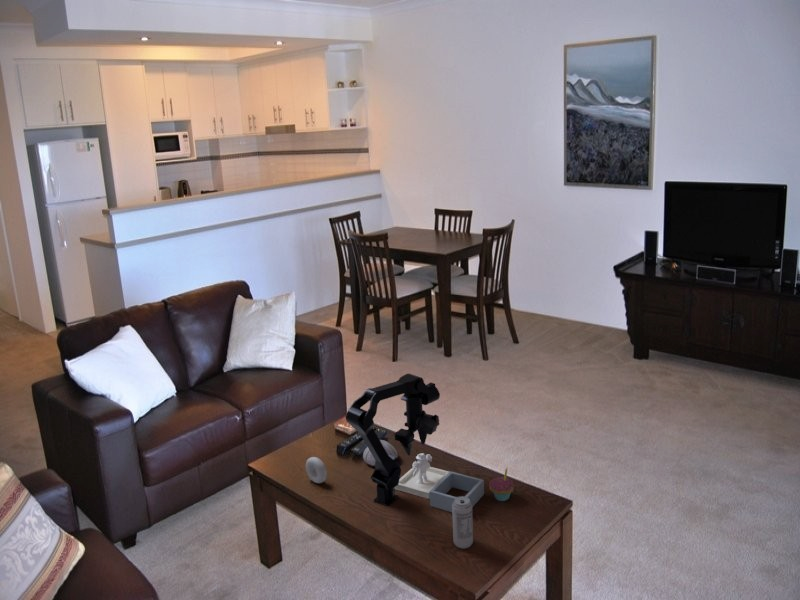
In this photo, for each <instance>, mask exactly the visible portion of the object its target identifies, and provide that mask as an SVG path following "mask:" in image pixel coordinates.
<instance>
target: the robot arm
mask: <svg viewBox="0 0 800 600" xmlns="http://www.w3.org/2000/svg"><path fill="white" fill-rule="evenodd" d="M400 395H402V396H401V398H400V400H401V401H404V402H405V412H404V413H403V415H404V416H406V422H405V423H404V427H406V428H407V429H406V428H405V429H404V428H400V429H398V430H397V431H396V432H394V434H393V438H394V441H397V442H399V443H400V444H401V446H402V448H403V449H404V451H405V453H406V454H407V456H412V443H413V442H414V441H415V440H416V439H415V433H416V432H417V433H418V436H419V441H420V443H421V445H425V444H426V440H427V436H428V435H429V436H431V435H432V434H433V433H434V432H436V431H437V429H438V427H439V425H440V418H439V415H437V414H434V415H433V414H429V413H427V412H426V410H423V406H427V405H429V404H431V403H434V402H436V401H439V399H440V398H441V397H440V396H441V393H440V391H439V389H438V387H436V383H434V382H429V383H427V384H426V383H425V380H424V379H423V377H421V376H419V375H414V374H412V373H406V374H404V375H402V376H400V377H399V378H398V380H397V381H393V382H390V383H386V384H382V385H379V386H375V387H372V388H371V387H370V388H367V389H365V391H364V392H363V393H362V395H361V396H360V397H358V398H357V399H355V400H354V401H353V403H352V404H351V406H350V407H349V408H348V410H347V412H346V415H345V420H346V422H347V423H348V425H350V427H352V428H353V429H354V430H355V431H356V432H358V433H359V434H360V436H361V438H362V439H363V441H364V443H365V445H366V448H367V447H368V448H369V450H370V452H371V454H372V455H373V457H374V459H375V466H374V467H375V468H374V471H373V473H372V474H371V476H370V480H371V482H372V483H375V484H376V497H375V498H374V499H373V502H374V501H375V503H379V504H381V505H385V506H391V505H392V504H394V502H395V501H396V500H397V499H399V497H400V496H399V495H398V494H396V489H395V486H397V485H398V484H399V479H400V478H401V472H402V467H401V466H402V464H401V463H400V462H399V459H398V457H395V456H393V455H391V454H388V453H387V452H386V450H385V448H384V447H383V445H382V443H381V441H380V440H381V439H380V438H379V436H378V434H377V432H376V430H375V429H374V424H375V421H374V418H375V417H376V415H377V412H378V411H377V410H378V406H379V403H380V402H381V401H384V400H388V399H391V398H394V397H397V396H400ZM367 403H369V408H368V410H366V409H363V408H362V407H363V406H365V405H366V404H367Z"/></svg>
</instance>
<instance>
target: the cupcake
mask: <svg viewBox="0 0 800 600" xmlns="http://www.w3.org/2000/svg"><path fill="white" fill-rule="evenodd" d="M504 470H505V471H504V476H497V477H494V478H493V479H491V480H490V482H489V485H488V486H489V490H490V492H492V493H493V495H494V498H495V499H496V500H497V501H500V502H505V501H508V500H509V499H510V496H511V493H513V492H514V491H515V490H514V489H515V482H514V481H513V480H512V479H511V478H509V477H507V474H508V468H505V469H504Z"/></svg>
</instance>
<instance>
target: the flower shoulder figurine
mask: <svg viewBox="0 0 800 600" xmlns="http://www.w3.org/2000/svg"><path fill="white" fill-rule="evenodd" d="M415 459H416V460H417V461H416V460H415V461H413V463H412V468H413V467H415V468H416V469H415V468H413V469H415V471H414V473H413V476H414V477H415V475H416V474H417V472H418V470H419V474H418V479H419V480H418V481H417V483H418V484H423V483H424V482H426V481H428V479H427V476H426V471H427V469H428V468H429V469H430V467H431V464H430V463H431V462H432V461H433V456H431V454H429V453H426V455H425V453H419V454H417V456H415ZM422 476H423V477H422Z"/></svg>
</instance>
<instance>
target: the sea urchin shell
mask: <svg viewBox="0 0 800 600" xmlns="http://www.w3.org/2000/svg"><path fill="white" fill-rule="evenodd" d="M380 441H381V443H382V445H383V447H384V448H385V450H386V452H387V453H388V454H391V455H393V456H395V457H397V458H398V452H397V449H396V448H395V447H394V446H393V444H391V443H390V442H389V441H386V440H384V439H380ZM362 458H363V462H365V463H366V464H368V465H370V466H371V467H373V466H374V467H375V459H374V457H373V455H372V454H371V452H370V450H369V448H368V447H367V446H366V448H365V449H364V451H363V454H362Z"/></svg>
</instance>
